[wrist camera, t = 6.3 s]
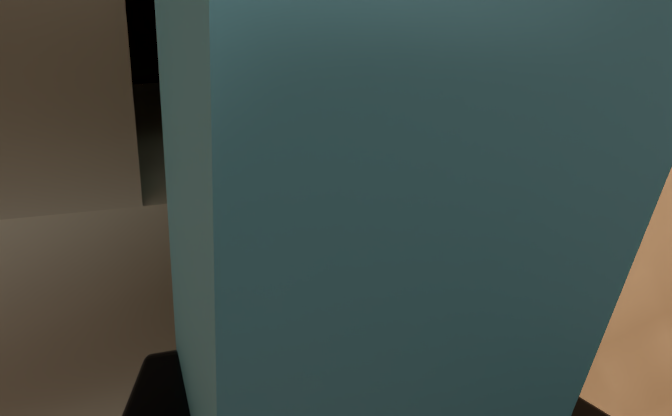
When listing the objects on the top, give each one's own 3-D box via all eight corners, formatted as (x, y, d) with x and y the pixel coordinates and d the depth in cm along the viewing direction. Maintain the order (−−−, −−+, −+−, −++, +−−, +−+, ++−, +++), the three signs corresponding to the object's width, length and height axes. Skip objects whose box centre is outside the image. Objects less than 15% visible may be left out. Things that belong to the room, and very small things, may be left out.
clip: (114, -268, 7) (199, -426, 2) (361, -235, 8) (856, -289, 3) (171, 469, 14) (225, 867, 9) (303, 440, 15) (422, 784, 10)
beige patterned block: (-185, -601, 6) (-457, -1005, 3) (510, -427, 9) (752, -552, 6) (65, 506, 16) (60, 688, 12) (367, 437, 18) (428, 573, 15)
